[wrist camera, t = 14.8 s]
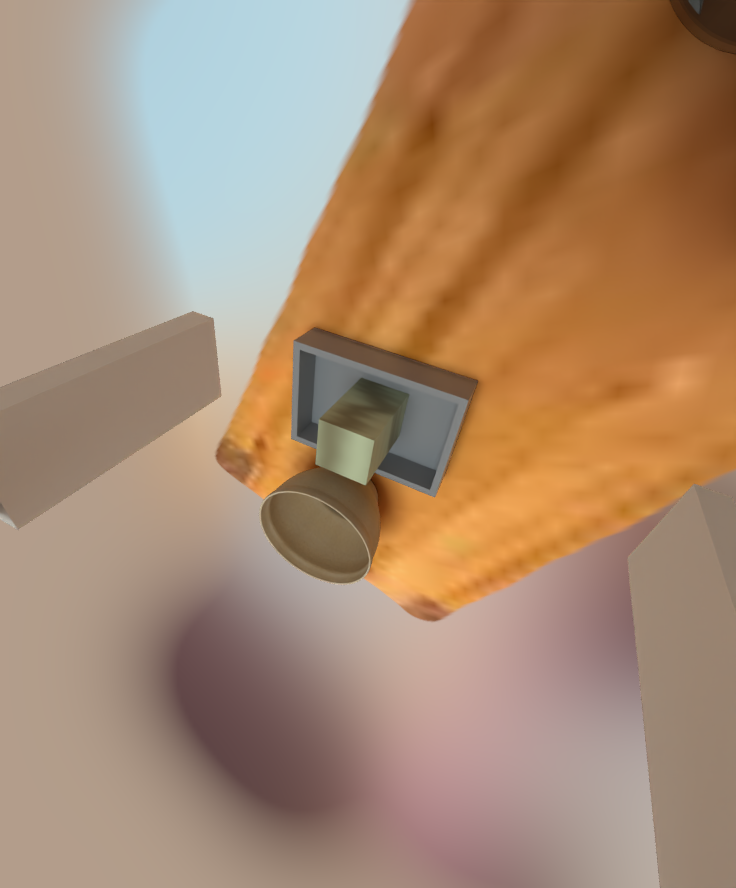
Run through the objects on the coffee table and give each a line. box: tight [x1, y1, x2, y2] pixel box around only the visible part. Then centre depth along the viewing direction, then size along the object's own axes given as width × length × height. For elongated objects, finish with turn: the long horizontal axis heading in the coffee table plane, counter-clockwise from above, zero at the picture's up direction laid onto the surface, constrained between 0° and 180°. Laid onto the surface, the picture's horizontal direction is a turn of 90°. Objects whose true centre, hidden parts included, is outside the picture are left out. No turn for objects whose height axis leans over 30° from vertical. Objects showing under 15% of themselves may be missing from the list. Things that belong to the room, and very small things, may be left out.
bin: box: [291, 328, 478, 497], centre depth 47 cm, size 20×14×4 cm
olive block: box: [316, 378, 409, 485], centre depth 45 cm, size 6×6×10 cm
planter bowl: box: [259, 467, 380, 585], centre depth 56 cm, size 16×16×11 cm
